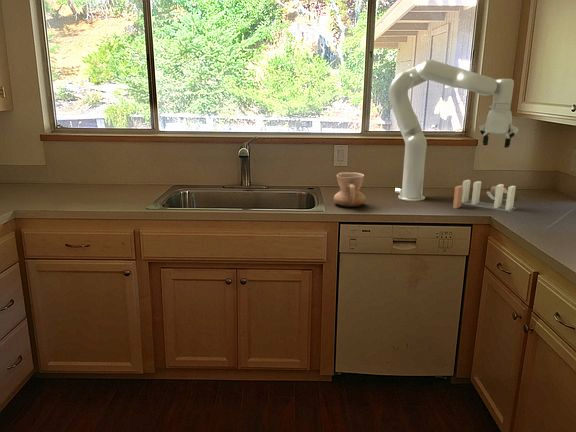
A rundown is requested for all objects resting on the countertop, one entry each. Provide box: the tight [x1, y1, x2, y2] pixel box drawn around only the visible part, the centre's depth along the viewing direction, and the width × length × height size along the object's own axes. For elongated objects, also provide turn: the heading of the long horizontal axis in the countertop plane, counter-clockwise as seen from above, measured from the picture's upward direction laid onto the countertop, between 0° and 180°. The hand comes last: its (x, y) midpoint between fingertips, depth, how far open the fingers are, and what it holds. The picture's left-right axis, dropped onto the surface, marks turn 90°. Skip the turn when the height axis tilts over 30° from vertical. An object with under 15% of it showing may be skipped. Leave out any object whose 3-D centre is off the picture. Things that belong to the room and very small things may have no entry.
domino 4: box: [493, 183, 505, 208], centre depth 206 cm, size 2×5×10 cm, turn 137°
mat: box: [452, 199, 518, 213], centre depth 211 cm, size 26×10×1 cm, turn 47°
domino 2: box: [461, 179, 471, 203], centre depth 216 cm, size 2×5×10 cm, turn 137°
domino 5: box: [505, 185, 517, 210], centre depth 203 cm, size 2×5×10 cm, turn 138°
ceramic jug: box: [333, 172, 366, 208], centre depth 209 cm, size 18×14×14 cm
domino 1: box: [452, 185, 463, 209], centre depth 205 cm, size 2×5×10 cm, turn 138°
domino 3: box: [471, 180, 482, 204], centre depth 212 cm, size 2×5×10 cm, turn 137°
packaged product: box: [486, 185, 508, 202], centre depth 228 cm, size 18×5×10 cm
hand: (495, 146), depth 210 cm, fingers open, 9 cm apart
